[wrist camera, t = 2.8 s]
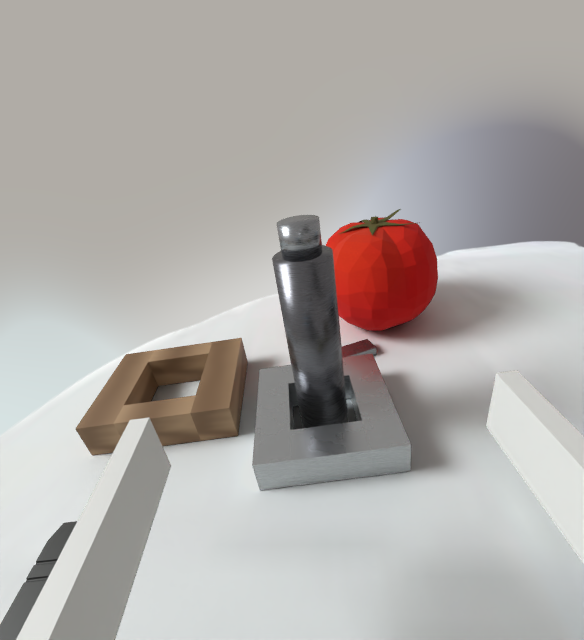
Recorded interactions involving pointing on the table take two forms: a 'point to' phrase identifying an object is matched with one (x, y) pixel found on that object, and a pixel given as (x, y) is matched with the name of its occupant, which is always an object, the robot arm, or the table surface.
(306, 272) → the metal bottle
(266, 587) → the table surface
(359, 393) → the socket collar
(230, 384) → the frame
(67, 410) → the table surface
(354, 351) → the bar
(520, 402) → the robot arm
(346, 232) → the tomato
